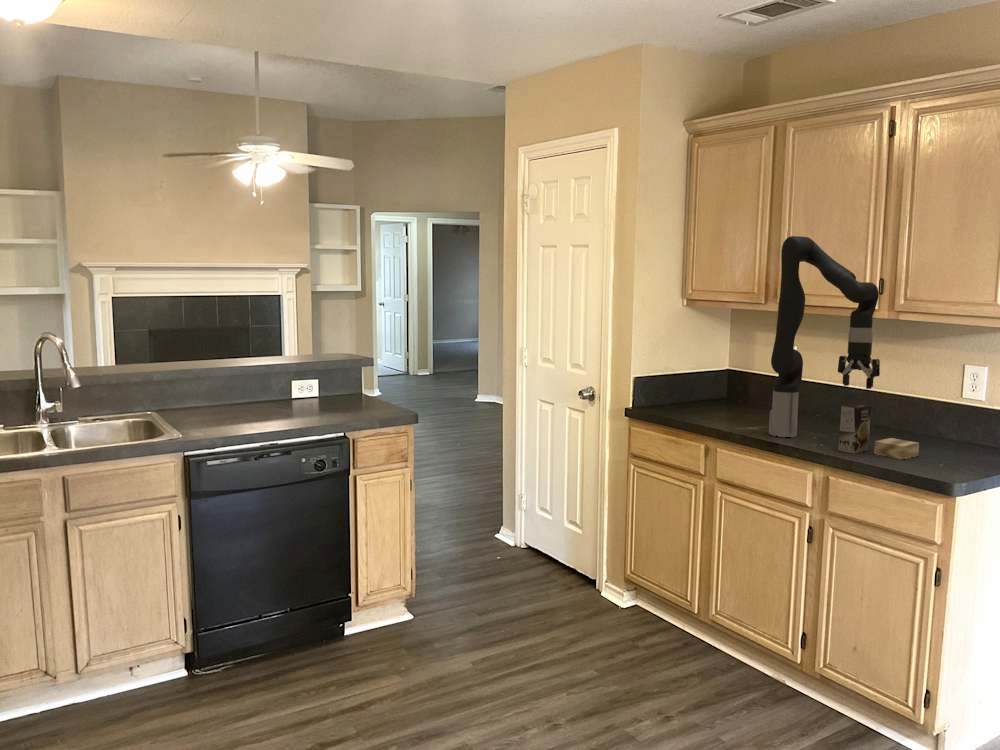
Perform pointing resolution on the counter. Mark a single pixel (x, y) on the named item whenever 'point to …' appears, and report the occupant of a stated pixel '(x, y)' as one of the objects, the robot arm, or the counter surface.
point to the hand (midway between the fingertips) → (857, 387)
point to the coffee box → (854, 428)
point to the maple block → (896, 448)
